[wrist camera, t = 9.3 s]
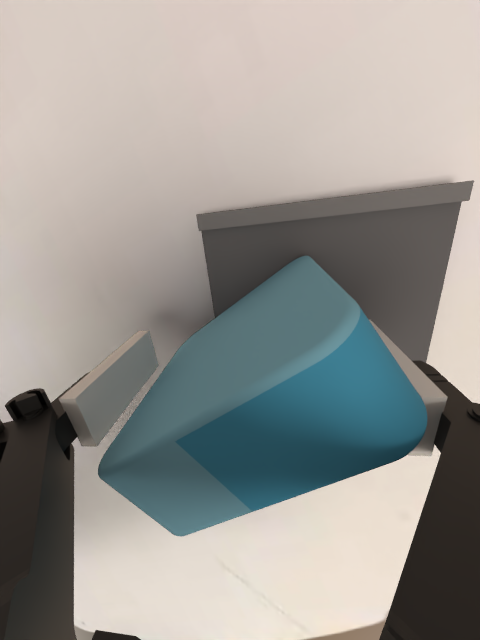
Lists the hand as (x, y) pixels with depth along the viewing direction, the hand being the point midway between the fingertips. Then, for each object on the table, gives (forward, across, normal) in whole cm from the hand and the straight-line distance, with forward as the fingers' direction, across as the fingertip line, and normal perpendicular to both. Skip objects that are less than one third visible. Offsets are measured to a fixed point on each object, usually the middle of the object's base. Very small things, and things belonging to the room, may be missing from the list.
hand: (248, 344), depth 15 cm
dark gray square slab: (+5, +5, 0) cm, 7 cm away
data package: (+4, 0, 0) cm, 4 cm away
